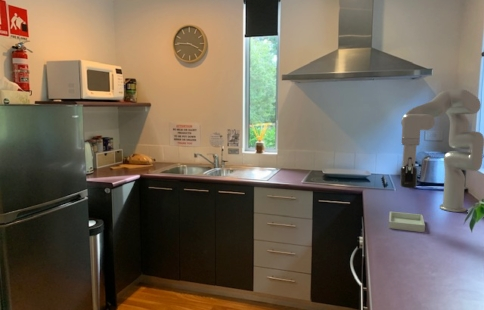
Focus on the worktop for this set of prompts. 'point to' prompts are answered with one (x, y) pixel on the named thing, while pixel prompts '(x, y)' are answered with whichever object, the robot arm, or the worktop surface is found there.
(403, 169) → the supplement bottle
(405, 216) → the tray
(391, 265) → the worktop surface
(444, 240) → the worktop surface
